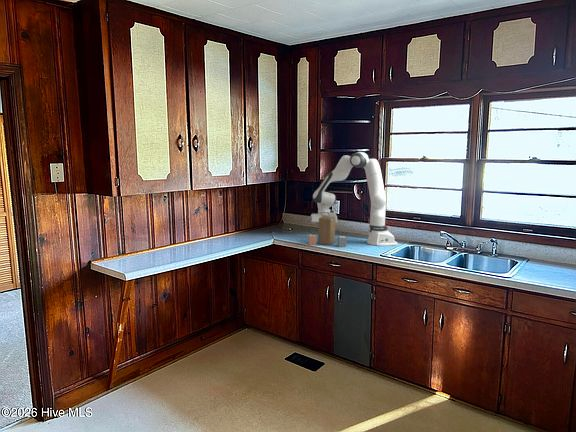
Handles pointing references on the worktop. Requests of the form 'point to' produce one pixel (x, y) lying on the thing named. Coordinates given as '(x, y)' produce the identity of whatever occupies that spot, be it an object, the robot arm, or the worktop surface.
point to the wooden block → (326, 230)
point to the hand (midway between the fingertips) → (325, 228)
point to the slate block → (341, 241)
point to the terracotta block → (312, 239)
